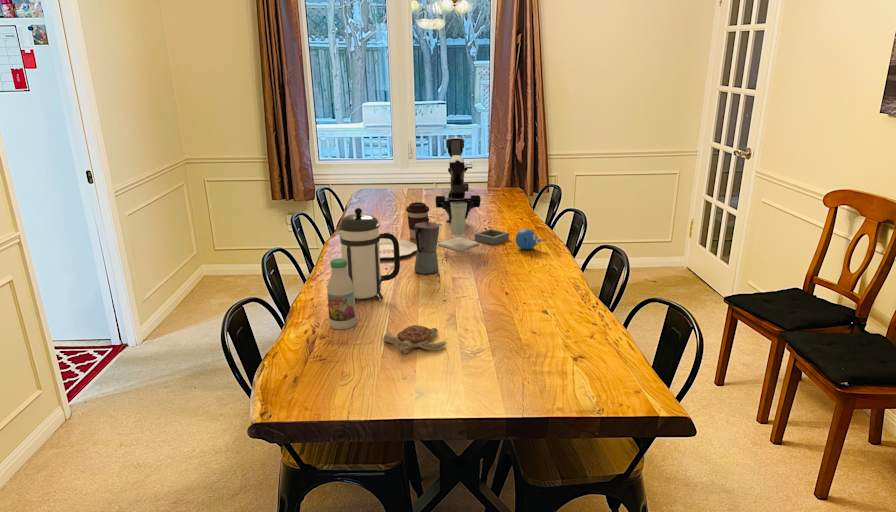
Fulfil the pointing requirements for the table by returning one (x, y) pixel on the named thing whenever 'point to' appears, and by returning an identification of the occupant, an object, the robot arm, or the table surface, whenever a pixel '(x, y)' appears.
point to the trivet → (458, 243)
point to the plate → (404, 248)
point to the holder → (491, 236)
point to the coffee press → (365, 253)
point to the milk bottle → (341, 296)
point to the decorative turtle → (414, 338)
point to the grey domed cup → (458, 217)
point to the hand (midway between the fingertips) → (458, 218)
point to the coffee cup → (416, 215)
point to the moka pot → (426, 247)
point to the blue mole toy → (527, 239)
